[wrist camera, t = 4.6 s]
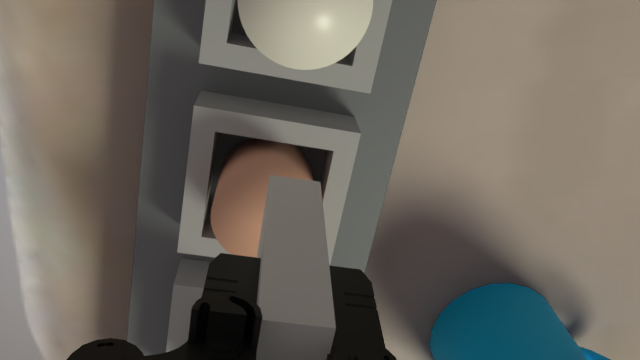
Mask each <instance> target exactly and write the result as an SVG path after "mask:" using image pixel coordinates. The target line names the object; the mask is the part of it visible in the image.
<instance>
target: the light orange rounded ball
mask: <svg viewBox="0 0 640 360" xmlns="http://www.w3.org/2000/svg"><path fill="white" fill-rule="evenodd" d="M270 175H276V176H283V177H290V178H297V179H304V180H311V181H313V174H312V169H311V166H310V163H309V161H308V159H307V158H306V156H305V155H304V154H303V153H302V151H301V150H300V149H298V148H297V147H296V146H295V145H293V144H288V143H281V142H275V141H269V140H263V139H257V138H252V139H249V140H247V141H244V142H242V143H241V144H239V145H238V146H236V147H235V148H234V149H233V150H232V151H231V152H230V153H229V154H228V156H227V157H226V159H225V161H224V163H223V165H222V168H221V172H220V176H219V180H218V184H217V188H216V192H215V196H214V200H213V204H212V209H211V226H212V230H213V232H214V235H215V237H216V239H217V240H218V242H219V243H220V245H221V246H222V247H223V248H224V249H225V250H226V251H227V252H229V253H230V254H233V255H241V256H248V257H256V258H257V252H258V246H259V239H260V233H261V227H262V220H263V214H264V208H265V201H266V195H267V188H268V182H269V176H270Z"/></svg>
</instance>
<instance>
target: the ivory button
mask: <svg viewBox="0 0 640 360" xmlns="http://www.w3.org/2000/svg"><path fill="white" fill-rule="evenodd" d="M237 1H238V11H239V16H240V20H241V23H242V26H243V28H244V30H245V32H246V34H247V36H248V38H249V39H250V41H251V42H252V43H253V45H254V46H255V47H256V48H257V49H258V50H259V51H260V52H261V53H262V54H263V55H265V56H266V57H267V58H269V59H270V60H272V61H274V62H275V63H277V64H280V65H282V66H285V67H288V68H292V69H299V70H313V69H319V68H323V67H326V66H329V65H331V64H334V63H336V62H338V61H339V60H341V59H343V58H344V57H345V56H347V55H348V54H349V53H350V52H351V51H352V50H353V49H354V48H355V47H356V46H357V45H358V43H359V42H360V41H361V39H362V38H363V36H364V34H365V33H366V30H367V28H368V26H369V23H370V19H371V16H372V10H373V0H237Z"/></svg>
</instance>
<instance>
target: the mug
mask: <svg viewBox="0 0 640 360" xmlns="http://www.w3.org/2000/svg"><path fill="white" fill-rule="evenodd" d="M430 349H431V352H432V356H433V359H434V360H610V359H608V358H606V357H604V356H602V355H600V354H598V353H595V352H593V351H591V350H588V349H585V348H582V347H579V346H578V345H577V344H576V342H575V341H574V339H573V338H572V337H571V335H570V334H569V332H568V331H567V329H566V328H565V327H564V325H563V324H562V322H561V321H560V319H559V318H558V317H557V315H556V314H555V312H554V311H553V309H552V308H551V307H550V305H549V304H548V302H547V301H546V300H545V298H544V297H543V296H541V295H540V294H538V293H536V292H535V291H533V290H532V289H530V288H528V287H524V286H520V285H516V284H512V283H503V284H489V285H485V286H482V287H479V288H475V289H472V290H470V291H468V292H466V293H465V294H463V295H461V296H460V297H458V298H456V299H455V300H453V301H452V302H451V303H450V304H449V305H448V306H447V307H446V308H445V309H444V310H443V311H442V312H441V314H440V315H439V316H438V318H437V320H436V323H435V325H434V327H433V329H432V331H431V340H430Z"/></svg>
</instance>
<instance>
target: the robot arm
mask: <svg viewBox="0 0 640 360" xmlns="http://www.w3.org/2000/svg"><path fill="white" fill-rule="evenodd" d="M376 308H377V307H376V302H375V299H374V293H373V288H372V283H371V281H370V280H369V279H368V278H367V276H366V275H365V274H364V273H363V272H362V270H361V269H353V268H346V267H338V266H330V265H329V258H328V248H327V239H326V229H325V220H324V210H323V201H322V192H321V182H317V181H311V180H304V179H297V178H290V177H283V176H276V175H270V176H269V182H268V188H267V195H266V201H265V208H264V214H263V220H262V227H261V233H260V239H259V246H258V252H257V258H256V257H248V256H241V255H233V254H225V253H220V254H219V255H218V256H217V257H216V258H215V259H214V260H213V261H212V262H210V263H209V267H208V272H207V276H206V280H205V284H204V289H203V293H202V297H201V298H200V299H198V300H197V301H196V302H195V304H194V305H193V307H192V309H191V318H190V327H189V337H188V341H187V342H186V343H184V344H183V345H182V346H180V347H179V348H177V349H174V350H172V351H169V352H165V353H161V354H155V355H148V356H144V354H143V353H142V351H141V350H140V349H139V348H138V347H137V346H136V345H134V344H132V343H130V342H128V341H125V340H120V339H112V338H109V339H101V340H95V341H93V342H90V343H87V344H85V345H82V346H81V347H80V348H79V349H77V350H76V351H75V352H73V353H72V354H71V355H70V356H69V358H68V359H67V360H396V358H395V357H394V356H393V355H392V354H391V353H390V352H389V351H388V350H387V349H386V348H385V344H384V339H383V335H382V330H381V325H380V321H379V316H378V311H377V310H376Z"/></svg>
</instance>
